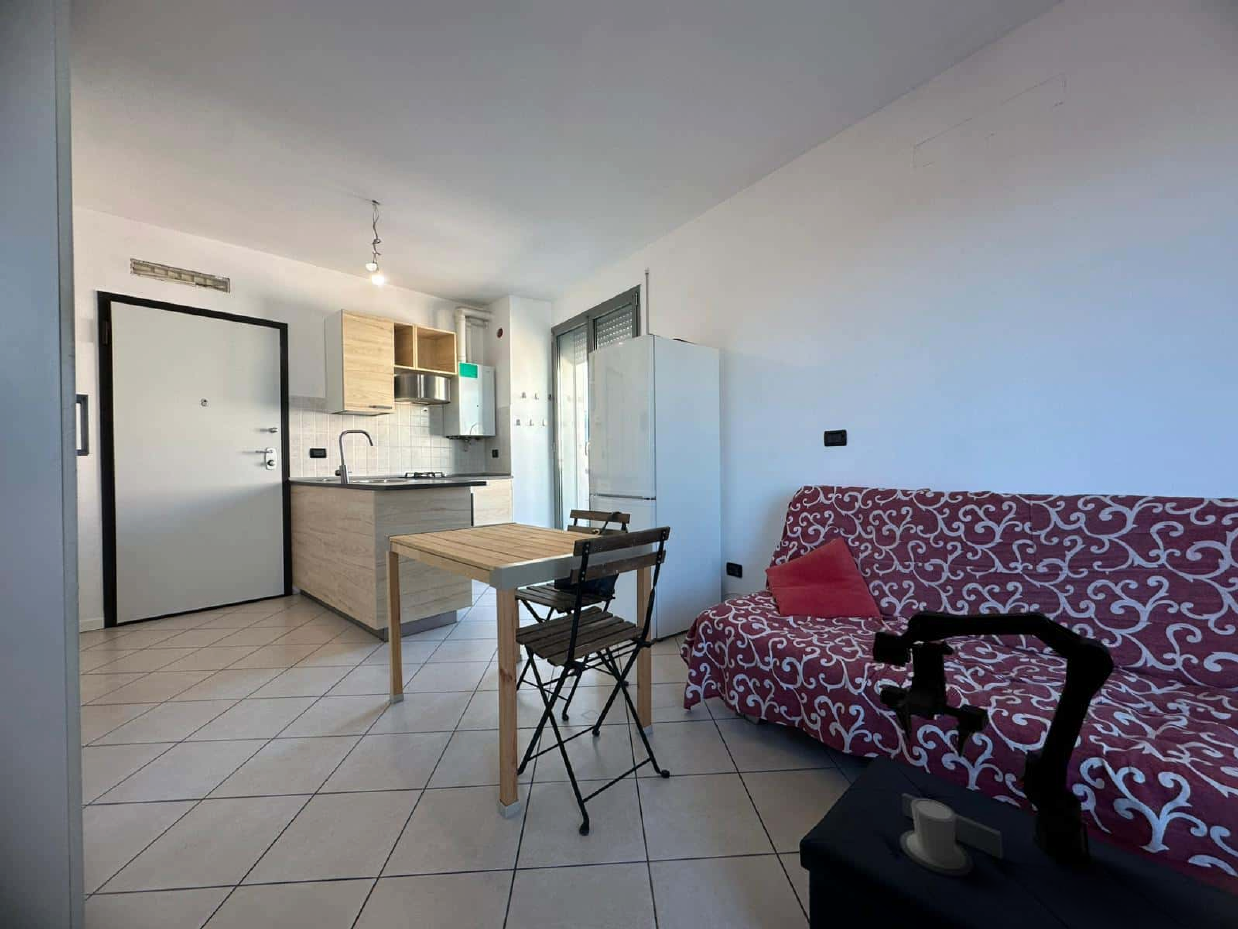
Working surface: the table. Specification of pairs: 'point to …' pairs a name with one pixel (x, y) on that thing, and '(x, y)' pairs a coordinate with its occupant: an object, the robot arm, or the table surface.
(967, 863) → the grey round disc
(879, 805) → the table surface
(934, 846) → the shot glass
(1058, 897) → the table surface
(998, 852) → the low wall
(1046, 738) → the robot arm
